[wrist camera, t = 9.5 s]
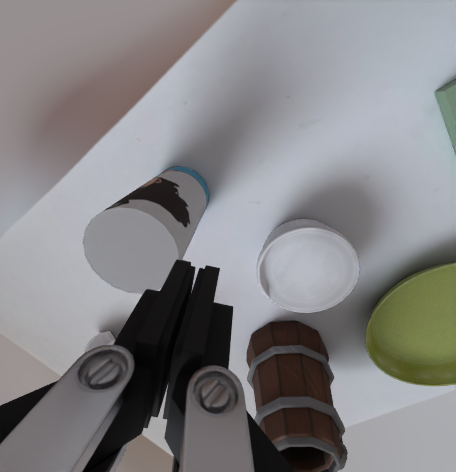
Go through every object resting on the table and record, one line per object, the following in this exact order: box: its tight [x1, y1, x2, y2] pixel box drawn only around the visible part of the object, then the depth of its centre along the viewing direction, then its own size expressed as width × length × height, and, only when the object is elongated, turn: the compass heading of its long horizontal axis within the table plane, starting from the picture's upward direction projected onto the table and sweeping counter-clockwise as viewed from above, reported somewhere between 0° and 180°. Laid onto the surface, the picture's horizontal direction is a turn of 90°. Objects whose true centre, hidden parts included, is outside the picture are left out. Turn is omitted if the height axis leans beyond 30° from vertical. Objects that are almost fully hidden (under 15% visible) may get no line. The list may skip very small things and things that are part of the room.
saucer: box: [365, 262, 456, 386], centre depth 35 cm, size 21×21×3 cm
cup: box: [83, 167, 209, 294], centre depth 25 cm, size 7×7×15 cm
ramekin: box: [257, 219, 360, 313], centre depth 31 cm, size 11×11×5 cm
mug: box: [247, 321, 348, 472], centre depth 35 cm, size 16×12×15 cm
